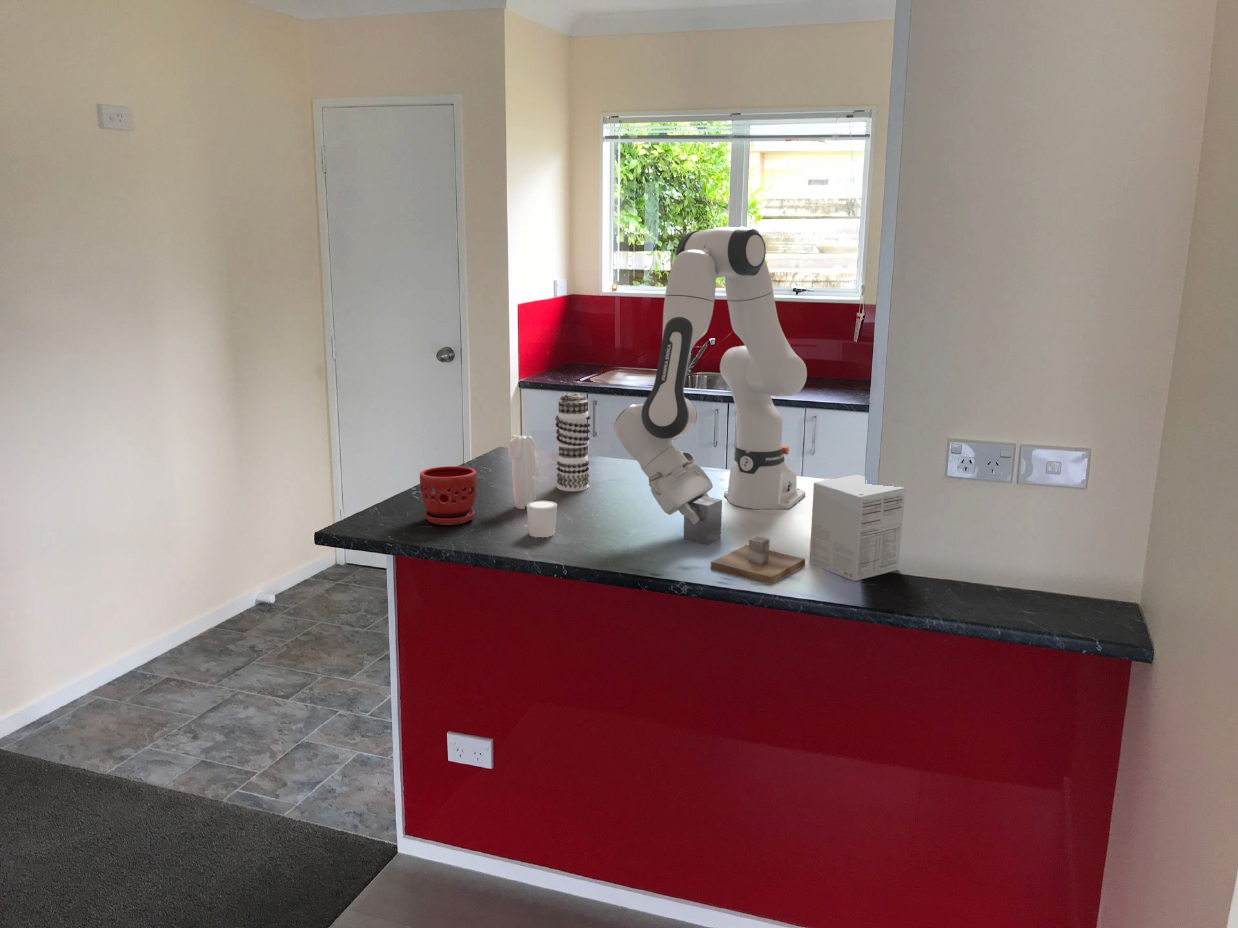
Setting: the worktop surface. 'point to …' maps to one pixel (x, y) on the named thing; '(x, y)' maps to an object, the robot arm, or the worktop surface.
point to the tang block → (758, 562)
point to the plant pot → (448, 494)
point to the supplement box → (856, 527)
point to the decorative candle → (572, 442)
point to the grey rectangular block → (704, 521)
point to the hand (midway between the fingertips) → (705, 517)
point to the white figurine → (524, 469)
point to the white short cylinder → (541, 518)
